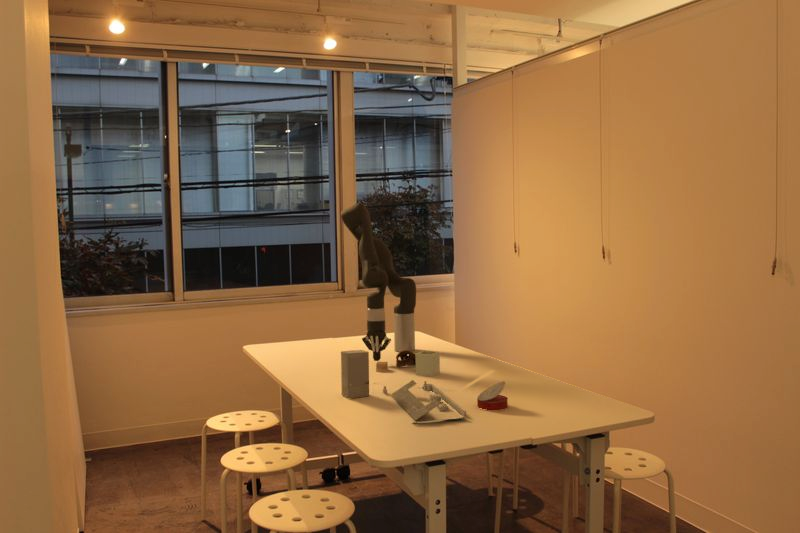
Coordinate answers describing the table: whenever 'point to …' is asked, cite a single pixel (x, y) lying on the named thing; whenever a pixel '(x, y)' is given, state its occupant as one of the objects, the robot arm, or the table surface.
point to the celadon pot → (427, 363)
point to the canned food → (493, 398)
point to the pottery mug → (405, 358)
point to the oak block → (381, 366)
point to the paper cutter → (418, 407)
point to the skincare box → (355, 373)
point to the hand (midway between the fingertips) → (377, 360)
